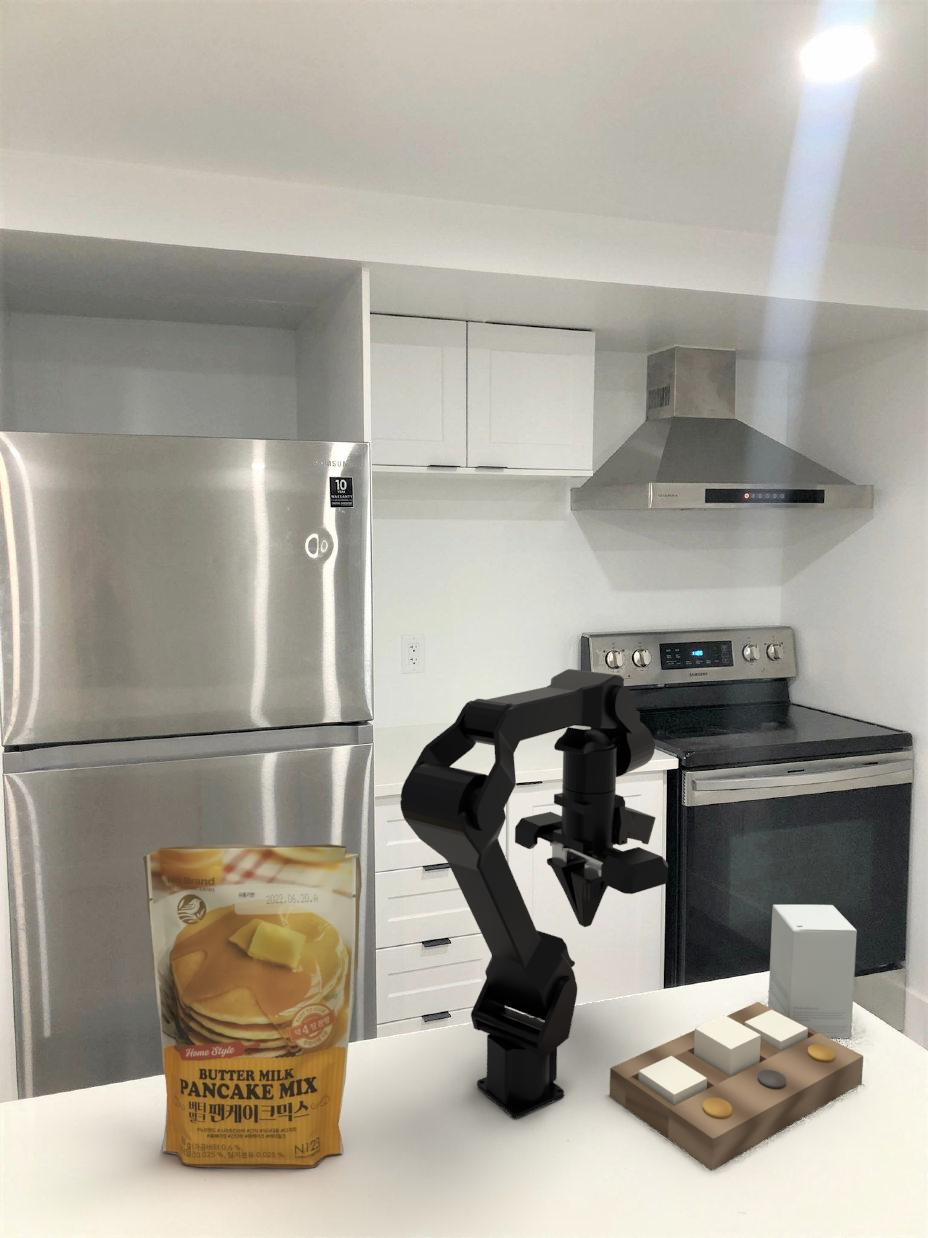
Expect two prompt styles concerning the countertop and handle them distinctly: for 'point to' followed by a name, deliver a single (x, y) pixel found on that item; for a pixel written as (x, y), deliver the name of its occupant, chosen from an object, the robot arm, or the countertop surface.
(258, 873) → the pancake mix bag
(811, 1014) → the supplement box
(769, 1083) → the button board
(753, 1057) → the middle button
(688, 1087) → the near button
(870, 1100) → the countertop surface
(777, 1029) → the far button
